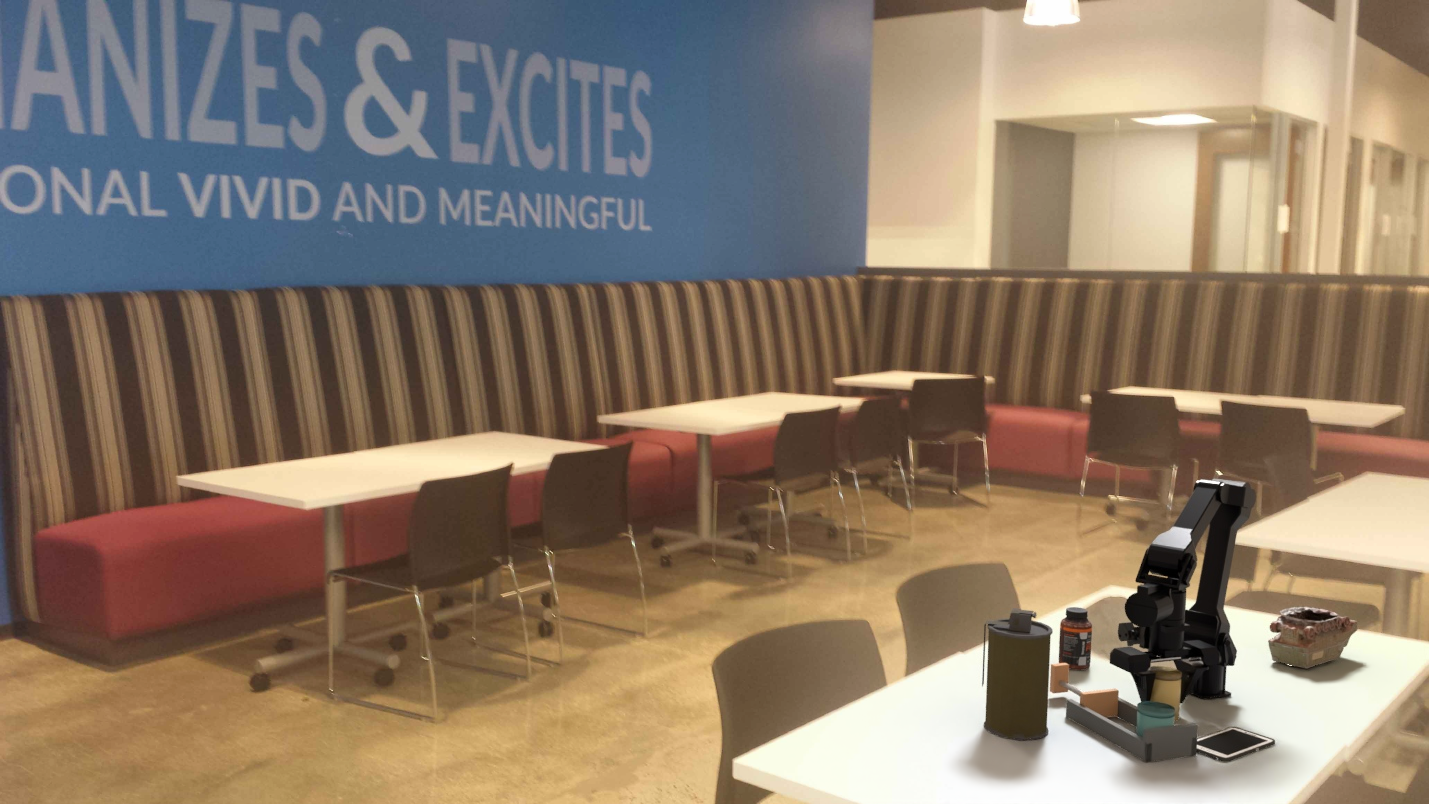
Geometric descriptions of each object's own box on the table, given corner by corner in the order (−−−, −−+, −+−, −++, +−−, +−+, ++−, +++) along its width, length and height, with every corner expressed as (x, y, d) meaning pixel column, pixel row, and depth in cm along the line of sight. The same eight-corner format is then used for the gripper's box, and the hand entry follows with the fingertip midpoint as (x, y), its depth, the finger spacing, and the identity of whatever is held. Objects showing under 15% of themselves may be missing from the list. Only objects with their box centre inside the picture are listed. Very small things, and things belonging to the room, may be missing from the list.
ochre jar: (1164, 709, 213) (1166, 664, 213) (1186, 720, 208) (1189, 674, 207) (1137, 712, 212) (1139, 667, 211) (1159, 723, 206) (1161, 677, 206)
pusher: (1073, 692, 221) (1074, 661, 220) (1117, 716, 209) (1119, 683, 208) (1040, 696, 218) (1041, 665, 218) (1082, 720, 206) (1084, 687, 206)
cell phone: (1181, 749, 196) (1181, 743, 196) (1233, 731, 204) (1233, 725, 204) (1225, 765, 190) (1225, 758, 189) (1277, 745, 198) (1277, 739, 198)
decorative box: (1244, 655, 246) (1246, 608, 245) (1308, 643, 255) (1311, 597, 255) (1302, 674, 235) (1305, 624, 234) (1367, 660, 244) (1371, 613, 243)
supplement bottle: (1091, 672, 233) (1094, 614, 232) (1059, 669, 235) (1062, 612, 234) (1088, 662, 239) (1091, 606, 238) (1057, 660, 240) (1059, 604, 239)
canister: (1050, 722, 206) (1055, 606, 204) (1045, 744, 196) (1051, 622, 194) (984, 714, 209) (989, 600, 208) (977, 735, 200) (982, 615, 198)
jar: (1156, 741, 198) (1159, 699, 197) (1180, 754, 193) (1183, 711, 192) (1127, 745, 196) (1129, 703, 196) (1150, 758, 191) (1153, 715, 190)
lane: (1112, 711, 212) (1113, 683, 211) (1196, 755, 192) (1197, 724, 192) (1065, 716, 209) (1067, 688, 208) (1146, 762, 189) (1147, 731, 189)
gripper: (1179, 600, 219) (1175, 685, 220) (1091, 607, 213) (1087, 694, 214) (1224, 616, 208) (1219, 705, 210) (1133, 624, 202) (1128, 716, 204)
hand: (1162, 704), depth 210 cm, fingers open, 7 cm apart
